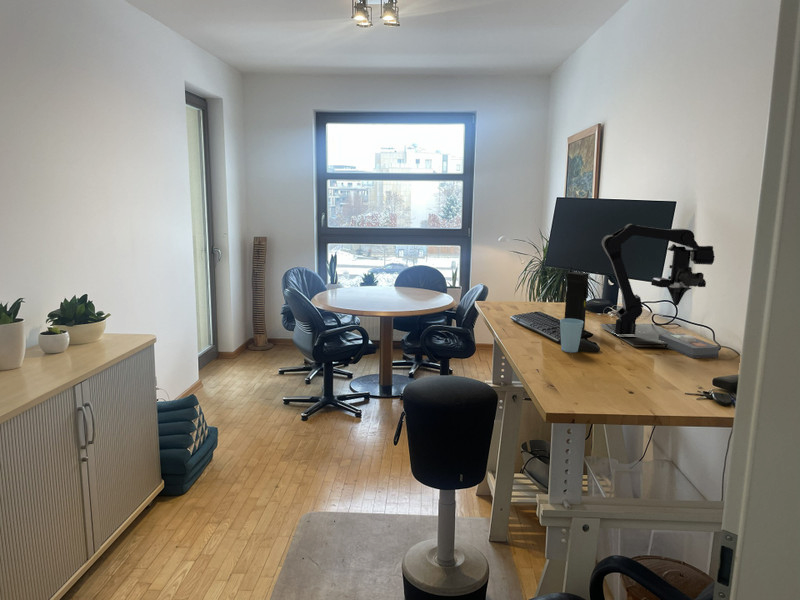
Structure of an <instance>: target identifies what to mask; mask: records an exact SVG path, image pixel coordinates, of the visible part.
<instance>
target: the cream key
mask: <svg viewBox="0 0 800 600" xmlns="http://www.w3.org/2000/svg"><path fill="white" fill-rule="evenodd" d="M697 339H698V338H697V336H694V335H691V334H685V335H681V337H680V340H682V341H685V342H696V340H697Z"/></svg>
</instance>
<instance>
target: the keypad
mask: <svg viewBox="0 0 800 600" xmlns="http://www.w3.org/2000/svg"><path fill="white" fill-rule="evenodd" d="M670 335H686V334H685V333H665V334H658V340H661V341H664V342H666V343H667V344H668V345H667V347H666V348H667V349H669V350H671V351H674V352H677V353H678V354H681V355H684V356H686V357H688V358H691V359H698V358H699V359H703V358H704V359H705V358H719V354H720V353H719V352H720V346H718V345H716V344H712V343H709V342H708V341H707V342H706V341H704V340H702V339H699V338H697V340H696V342H685V341H682V340H680V338H674V337H672V336H670ZM691 343H702V344H705V345H707V346H704V347H698V346H695V345H692V344H691Z"/></svg>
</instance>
